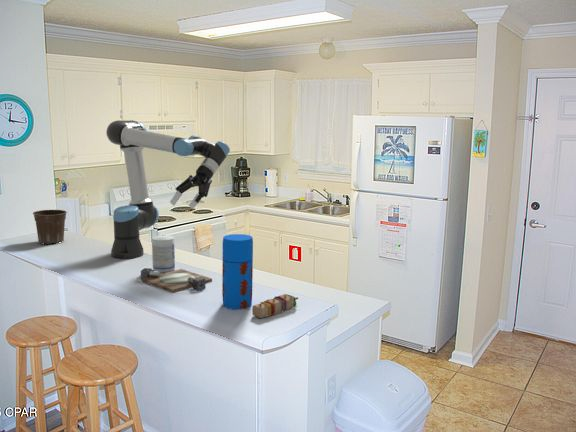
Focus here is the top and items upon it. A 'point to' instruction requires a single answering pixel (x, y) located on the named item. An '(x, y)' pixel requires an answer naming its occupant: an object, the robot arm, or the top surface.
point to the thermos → (237, 271)
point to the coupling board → (174, 280)
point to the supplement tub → (163, 254)
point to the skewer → (274, 305)
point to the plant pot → (50, 225)
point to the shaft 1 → (149, 273)
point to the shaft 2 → (197, 283)
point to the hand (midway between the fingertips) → (181, 205)
